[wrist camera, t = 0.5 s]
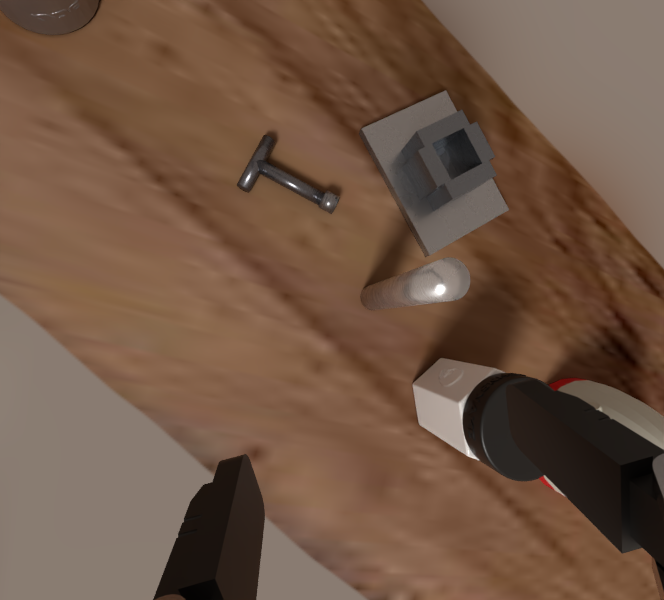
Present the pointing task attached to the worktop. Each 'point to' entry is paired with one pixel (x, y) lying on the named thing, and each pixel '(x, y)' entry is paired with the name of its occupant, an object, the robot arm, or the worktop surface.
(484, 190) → the chuck block
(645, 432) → the kitchen timer
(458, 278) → the steel rod
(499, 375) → the jar
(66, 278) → the worktop surface
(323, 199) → the chuck key
